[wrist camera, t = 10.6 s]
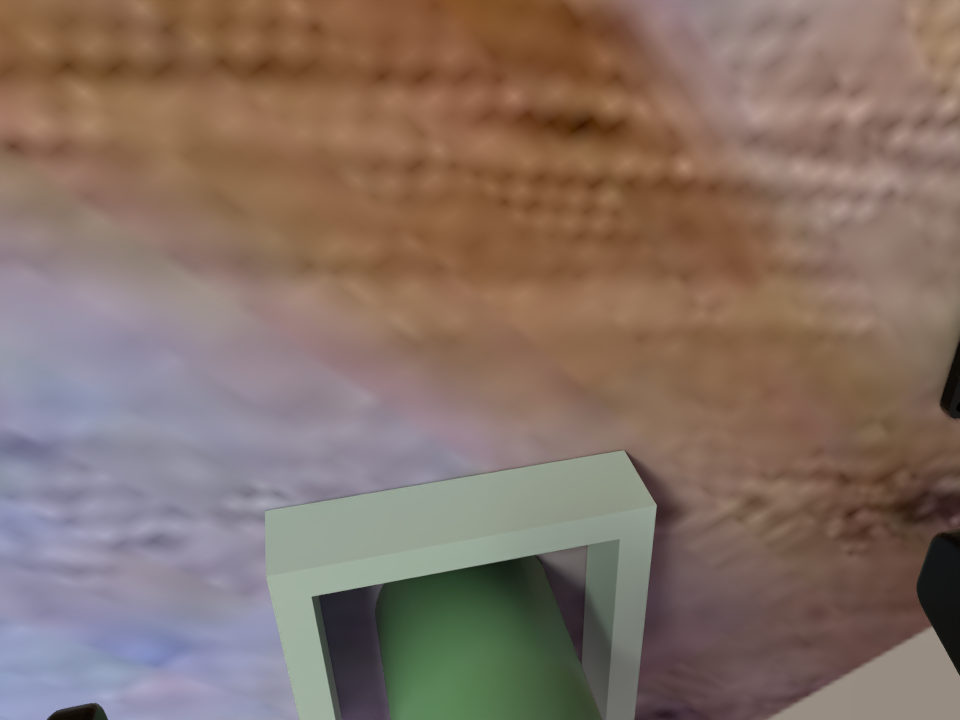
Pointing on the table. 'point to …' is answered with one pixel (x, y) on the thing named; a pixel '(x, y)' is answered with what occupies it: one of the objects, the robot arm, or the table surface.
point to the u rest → (471, 559)
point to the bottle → (480, 647)
